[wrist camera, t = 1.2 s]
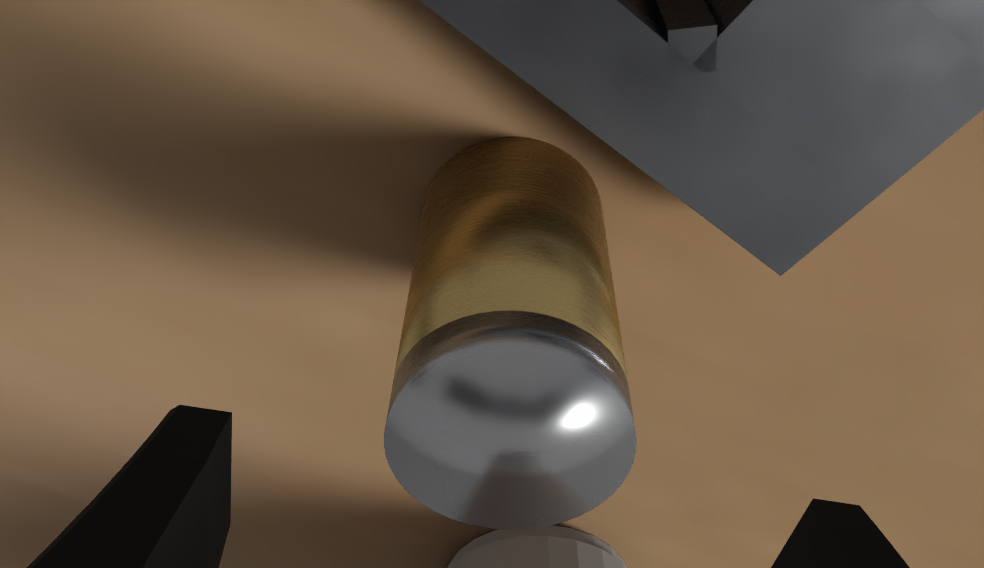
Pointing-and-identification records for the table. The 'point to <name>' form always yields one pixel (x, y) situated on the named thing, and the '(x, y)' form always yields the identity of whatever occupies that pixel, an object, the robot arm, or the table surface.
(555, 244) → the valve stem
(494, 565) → the coffee cup
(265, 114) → the table surface
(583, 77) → the block
